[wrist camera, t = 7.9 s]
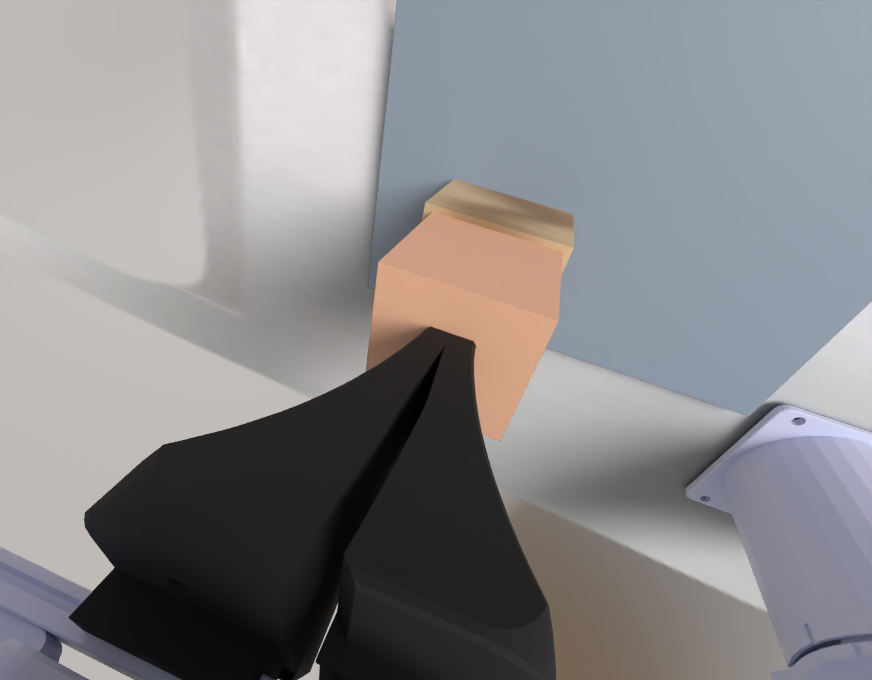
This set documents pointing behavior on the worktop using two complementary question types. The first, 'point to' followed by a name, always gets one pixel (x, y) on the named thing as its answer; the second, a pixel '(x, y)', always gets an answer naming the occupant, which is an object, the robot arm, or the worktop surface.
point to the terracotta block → (471, 305)
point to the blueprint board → (656, 169)
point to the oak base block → (505, 215)
